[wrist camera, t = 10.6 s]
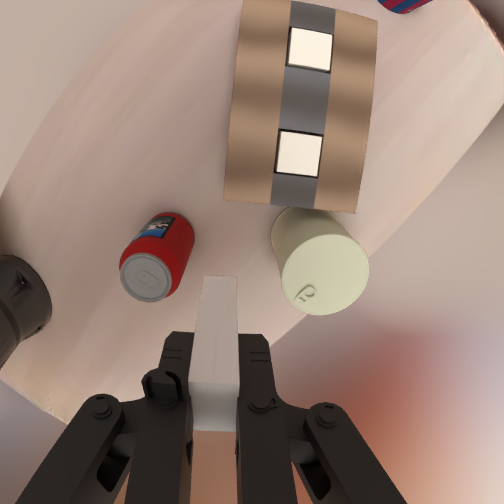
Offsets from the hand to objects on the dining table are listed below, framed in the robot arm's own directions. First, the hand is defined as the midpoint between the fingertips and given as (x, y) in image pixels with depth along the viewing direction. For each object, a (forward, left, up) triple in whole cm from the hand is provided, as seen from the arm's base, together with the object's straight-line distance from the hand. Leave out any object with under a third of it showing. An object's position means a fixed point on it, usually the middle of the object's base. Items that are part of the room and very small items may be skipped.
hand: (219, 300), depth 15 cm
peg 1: (+6, +17, -24) cm, 30 cm away
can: (+10, -5, -25) cm, 27 cm away
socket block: (+6, +11, -25) cm, 28 cm away
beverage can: (-8, -7, -25) cm, 27 cm away
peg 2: (+6, +6, -24) cm, 26 cm away
